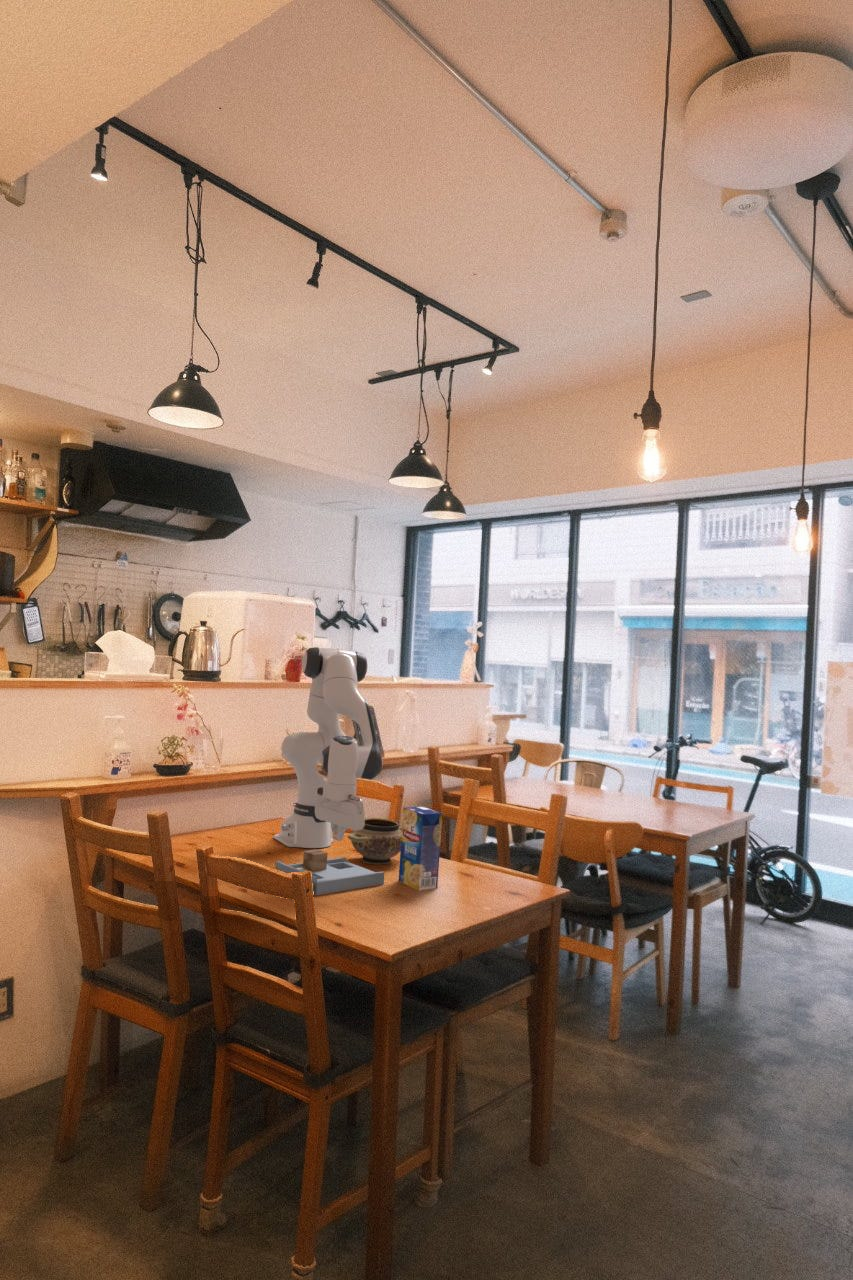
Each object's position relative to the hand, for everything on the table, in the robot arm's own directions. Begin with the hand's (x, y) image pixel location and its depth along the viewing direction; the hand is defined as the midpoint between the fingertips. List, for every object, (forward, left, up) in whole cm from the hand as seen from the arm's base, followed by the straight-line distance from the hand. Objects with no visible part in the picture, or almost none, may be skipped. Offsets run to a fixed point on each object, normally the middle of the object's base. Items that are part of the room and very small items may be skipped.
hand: (337, 839), depth 242 cm
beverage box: (+12, +21, -13) cm, 28 cm away
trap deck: (-3, 0, -13) cm, 13 cm away
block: (-9, -1, -10) cm, 13 cm away
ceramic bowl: (-15, +27, -13) cm, 34 cm away
